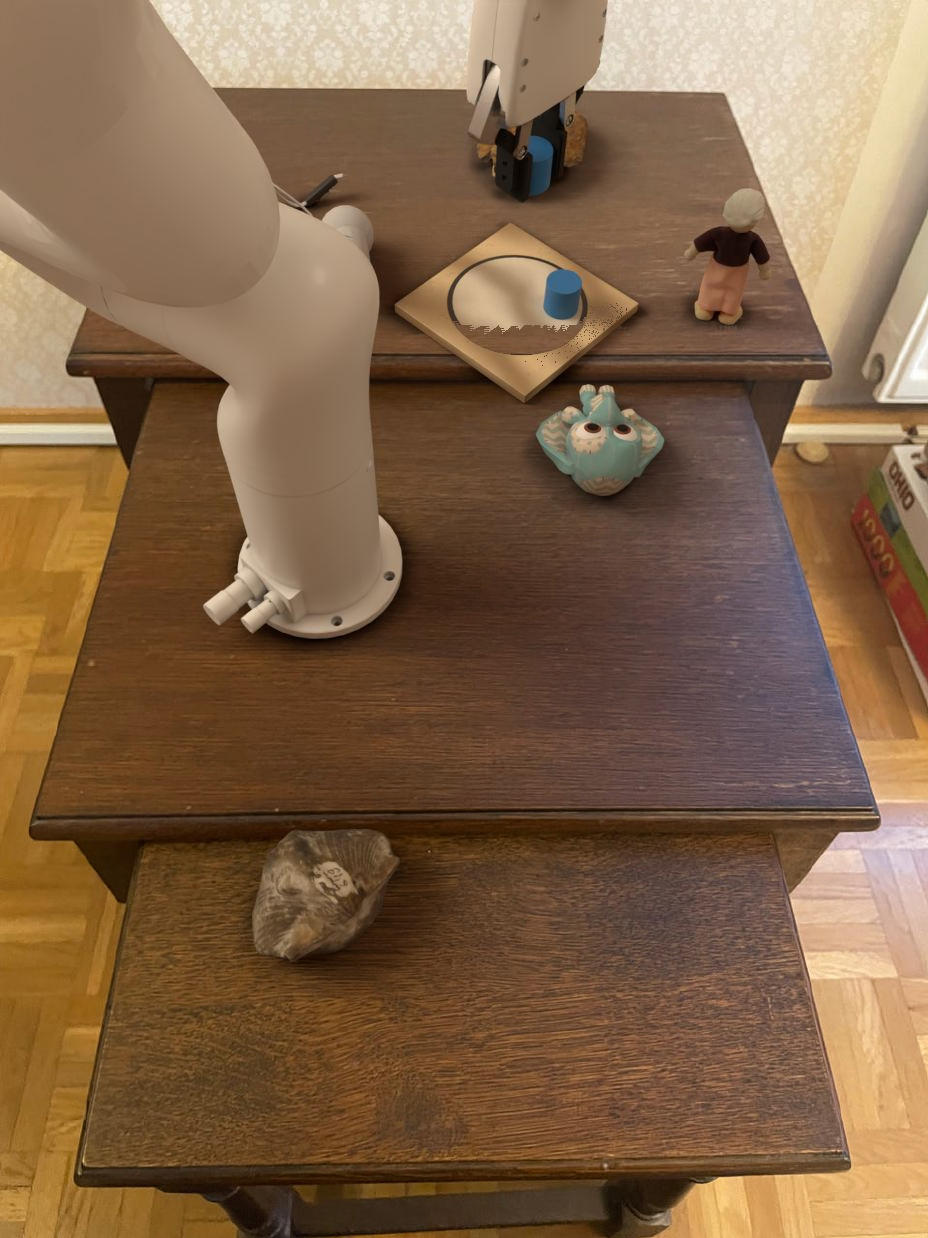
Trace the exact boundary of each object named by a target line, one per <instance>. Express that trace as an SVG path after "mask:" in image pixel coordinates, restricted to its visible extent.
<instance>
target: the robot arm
mask: <svg viewBox="0 0 928 1238" xmlns="http://www.w3.org/2000/svg"><path fill="white" fill-rule="evenodd" d="M608 2H609V0H474V1H473V8H472V13H471V22H470V30H469V39H468V40H469V42H468V51H467V64H466V65H467V67H466V99H467V102H468V103H469V104H471V105H473V106H475V109H474V112H473V115H472V118H471V121H470V124H469V126H468V129H467V136H468V137H469V138H471V139H472V140H474V141H476V142H477V143H478V142H479V143H480V144H482V145H493V146H494V145H496V146H497V150H496V169H495V177H494V185H495V186H496V187H497V188H498V189H499V190H501V191H502V190H503V191H502V192H505V193H506V194H508V195H509V196H511V197H512V198H514V199H515V200H517V201H519V202H520V203H525V202H526V201H528V200H529V198H530V196H531V195H530V185H531V174H532V163H533V155H532V154H531V153H529V152H528V147H529V141H530V136H538V137H542V138H544V139H546V140H548V141H549V142H550V143H551V145H552V146H553V159H552V168H551V177H550V178H552V179H553V180H554V179H555V180H557V179H559V178H560V177H562V176H563V175H564V167H565V166H564V159H565V150H566V142H567V134H568V132H567V131H566V130H565V128H566V129H568V128H569V127H570V126H571V125H572V124H573V121H574V118H575V111H576V105H577V103H578V102H579V100H580V98H581V96H583V93H584V90H585V86H586V85H587V84H588V83H589V82H590V81H591V80H592V79H593V77H594V76H595V75H596V73H597V71H598V69H599V67H600V65H601V57H602V51H603V46H604V41H605V32H606V24H607V14H608ZM540 114H541V115H540ZM508 126H509V127H516V132H515V135H514V134H512V133H511V132H510V131H508V130H507V129H508ZM259 151H260V150H259V149H258V148H257V146H256V144H255V142H254V141H253V139H252V137H250V136H249V134H248V133H247V131H246V130H245V129H244V127H243V126H242V125H241V123H240V122H239V121H238V120H237V118H236V117H235V115H234V114H233V113H232V111H231V110H230V108H228V106H227V105H226V104H225V102H224V101H223V100H222V99H221V97H220V96H219V95H218V93H217V92H216V90H215V89H214V88H213V86H211V84H210V82H208V80H207V79H206V78H205V76H204V75H203V74H202V72H201V71H200V70H199V68H198V67H197V65H195V63H194V61H193V60H192V59H191V58H190V56H189V55H188V54H187V53H186V51H185V50H184V48H183V47H182V46H181V44H180V43H179V42H178V40H177V39H176V37H175V36H174V35H173V34H172V32H171V31H170V30H169V28H168V27H167V26H166V24H165V22H164V21H163V19H162V17H161V16H160V15H159V12H158V11H157V9H156V8H155V6H154V4H153V3H152V1H151V0H0V252H2V253H4V254H5V255H6V256H8V257H9V258H11V259H12V260H14V261H15V262H16V263H19V264H20V265H22V266H23V267H24V268H26V269H27V270H29V271H30V272H32V273H33V274H35V275H36V276H38V277H39V278H41V279H42V280H44V281H45V282H47V283H48V284H49V285H51V286H53V287H54V288H56V289H57V290H59V291H60V292H62V293H63V294H64V295H66V296H68V297H69V298H71V299H72V300H73V301H75V302H77V303H78V304H80V305H82V306H84V307H85V308H87V309H89V310H90V311H92V312H93V313H95V314H96V315H99V316H101V317H102V318H103V319H105V320H108V321H110V322H112V323H114V324H116V325H117V326H119V327H122V328H124V329H125V330H128V331H130V332H132V333H134V334H136V335H138V336H141V337H143V338H145V339H147V340H149V341H151V342H153V343H155V344H157V345H159V346H162V347H163V348H165V349H168V350H170V351H172V352H174V353H176V354H178V355H181V356H182V357H183V358H185V359H187V360H188V361H191V362H193V363H195V364H197V365H199V366H202V367H203V368H205V369H207V370H209V371H211V372H212V373H214V374H216V375H218V376H219V377H221V378H222V379H223V380H224V381H226V382H227V383H228V384H229V385H228V386H227V388H226V390H224V391H225V392H224V393H223V395H222V396H221V399H220V402H219V405H218V409H217V416H216V417H217V418H216V428H217V434H218V435H217V436H218V439H219V443H220V448H221V451H222V454H223V458H224V460H225V463H226V466H227V469H228V474H229V476H230V480H231V483H232V487H233V490H234V493H235V498H236V501H237V504H238V508H239V511H240V515H241V519H242V521H243V525H244V528H245V532H246V536H247V537H246V538H245V540H244V542H243V543H242V547H241V549H240V552H239V555H238V564H237V573H236V574H234V575H233V578H234V581H233V582H231V584H230V585H228V586H227V587H226V588H224V589H221V590H220V591H219V592H218V593H216V594H215V595H214V596H212V598H210V599H208V600H207V601H206V602H205V603H204V604H203V605H202V607H203V610H204V611H205V613H206V614H207V615H208V617H209V618H210V619H211V620H212V621H213V622H214V623H215V624H216V625H218V626H222V625H223V624H224V623H225V622H226V621H228V620H229V619H230V618H232V616H234V615H236V613H238V612H239V611H240V608H242V607H243V606H244V605H246V604H247V605H248V607H249V608H250V609H251V610H250V611H248V612H247V613H246V614H244V615H243V616H242V617H241V618H240V622H241V623H242V624H243V626H244V627H245V629H247V630H248V631H249V632H250V633H251V634H255V632H257V631H258V630H259V629H260V628H261V627H263V626H264V625H268V626H269V627H272V628H273V629H275V630H277V631H279V632H281V633H283V634H287V635H289V636H293V637H297V638H303V639H313V640H314V639H315V640H317V639H330V638H337V637H340V636H345V635H347V634H350V633H352V632H355V631H358V630H360V629H362V628H364V627H365V626H367V625H368V624H371V623H372V622H373V621H374V620H375V619H377V618H378V617H379V616H380V615H381V614H383V613H384V611H385V610H386V609H387V608H388V607H389V605H390V604H391V603H392V601H393V600H394V599H395V598H394V597H395V596H396V595H397V593H398V590H399V587H400V584H401V581H402V576H403V553H402V548H401V545H400V541H399V539H398V536H397V535H396V533H395V531H394V530H393V528H392V526H391V524H389V523H388V522H387V520H385V519H384V517H383V516H382V515H380V514H379V504H378V493H377V492H378V491H377V481H376V480H377V479H376V468H375V456H374V444H373V432H372V431H373V430H372V424H371V423H372V421H371V410H370V409H371V408H370V374H371V373H370V371H371V362H372V356H373V348H374V343H375V339H376V332H377V326H378V320H379V311H380V285H379V281H378V277H377V273H376V271H375V269H374V267H373V264H372V263H371V260H370V261H369V260H368V258H367V257H366V256H365V254H364V253H363V252H362V251H361V250H360V248H359V247H358V246H357V245H356V244H354V243H353V242H352V241H351V240H350V239H348V238H347V237H346V236H344V235H343V234H342V233H340V232H339V231H338V230H336V229H334V228H333V227H331V226H329V225H328V224H326V223H324V222H322V219H318V218H317V217H314V216H313V215H312V216H313V217H312V216H310V215H308V214H307V213H306V212H304V211H301V210H299V209H296V208H295V207H292V206H291V205H287V204H285V203H282V202H280V201H279V199H278V195H277V194H276V191H277V190H276V188H275V187H274V185H273V183H274V182H273V179H272V177H271V174H270V171H269V169H268V167H267V165H266V163H265V161H264V158H262V155H261V154H260V152H259ZM275 190H276V191H275Z"/></svg>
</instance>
